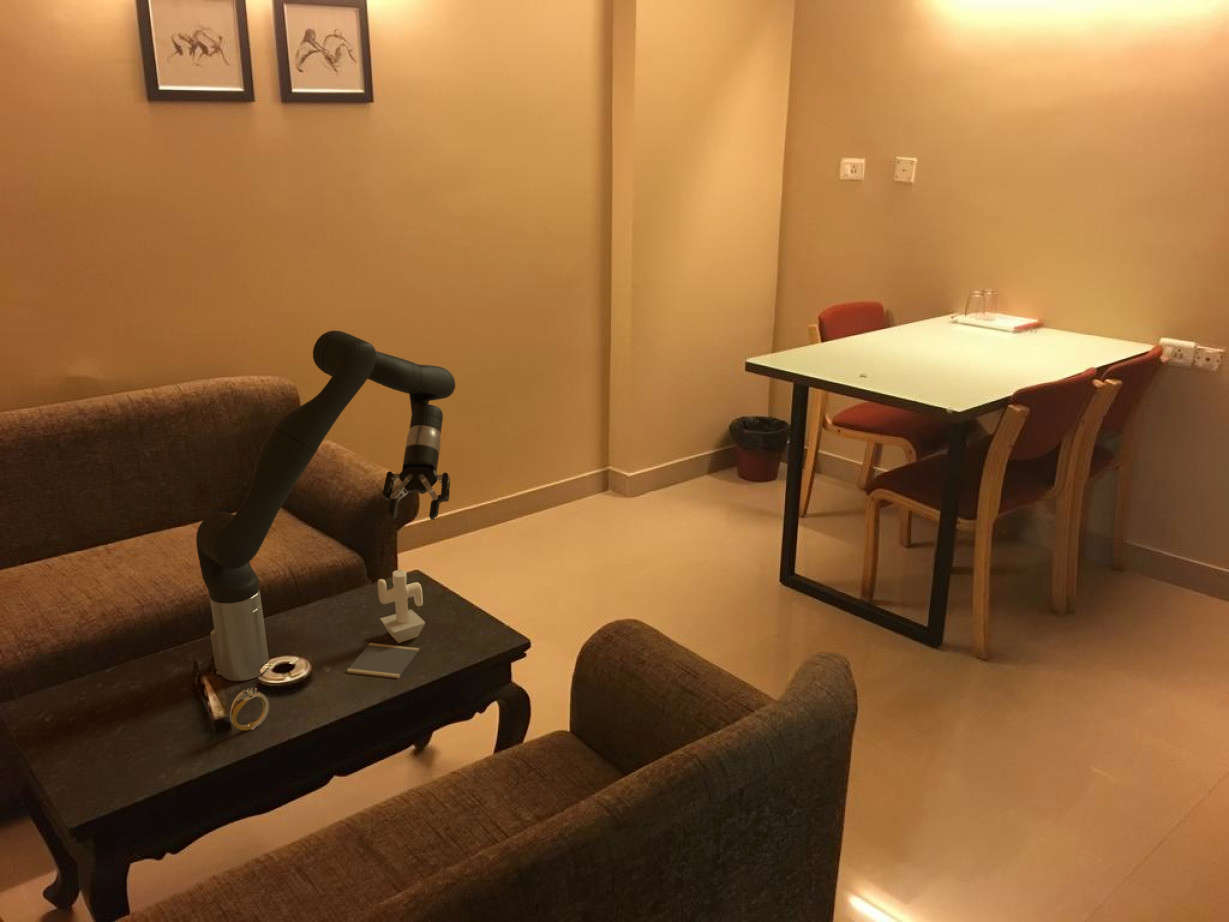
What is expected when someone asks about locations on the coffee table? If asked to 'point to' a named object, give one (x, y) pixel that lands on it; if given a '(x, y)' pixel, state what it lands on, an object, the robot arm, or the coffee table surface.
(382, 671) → the felt mat
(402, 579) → the figurine
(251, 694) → the ring
